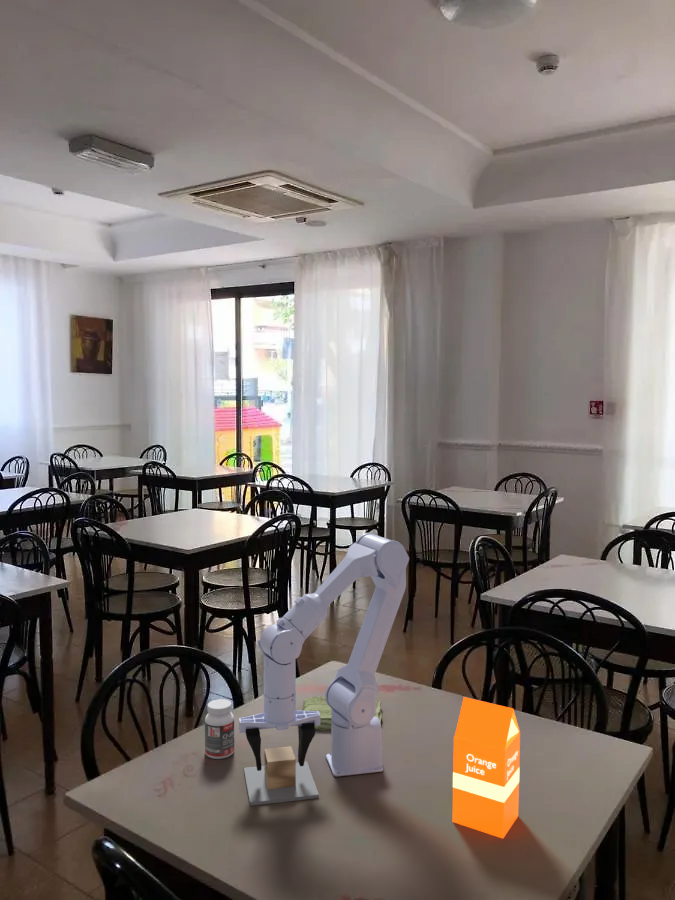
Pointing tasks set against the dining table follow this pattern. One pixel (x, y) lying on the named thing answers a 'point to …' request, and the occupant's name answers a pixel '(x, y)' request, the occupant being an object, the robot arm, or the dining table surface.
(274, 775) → the oak cube
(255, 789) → the grey board
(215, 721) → the pill bottle
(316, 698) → the washcloth
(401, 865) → the dining table surface
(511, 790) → the orange juice
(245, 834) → the dining table surface
